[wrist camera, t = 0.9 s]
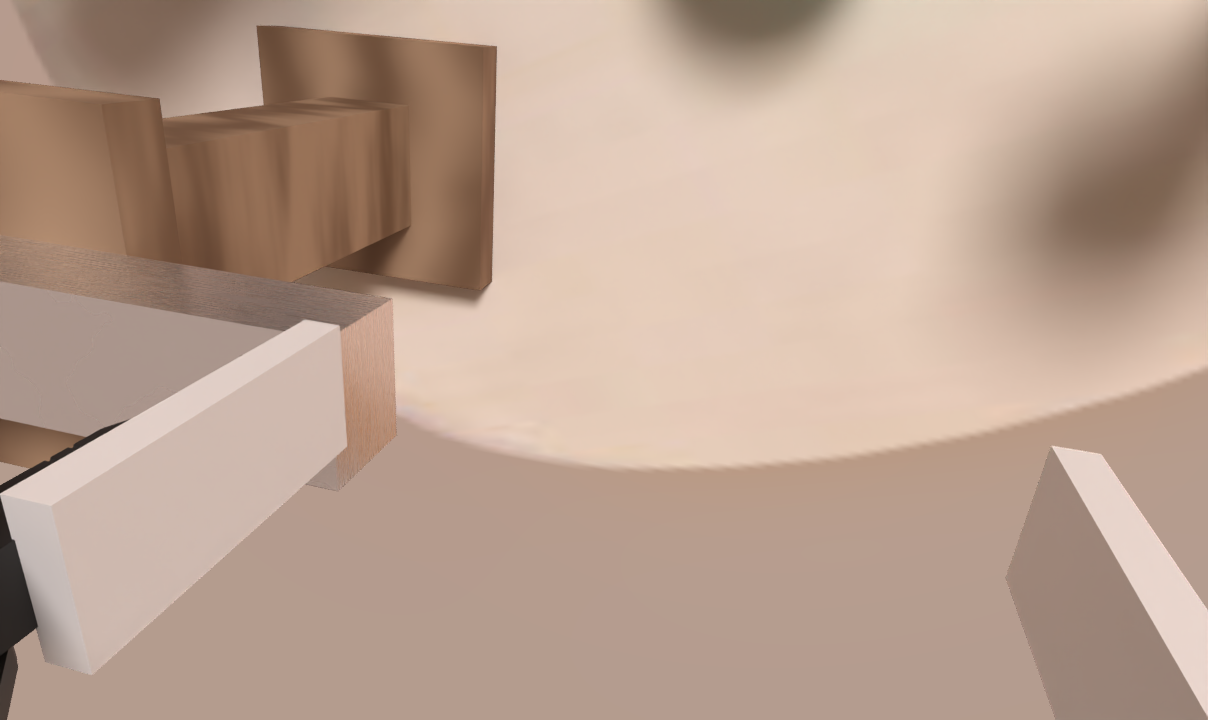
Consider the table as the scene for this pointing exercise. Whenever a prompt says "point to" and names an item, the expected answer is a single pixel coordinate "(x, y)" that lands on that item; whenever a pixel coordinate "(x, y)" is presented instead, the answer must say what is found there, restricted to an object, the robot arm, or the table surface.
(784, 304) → the table surface
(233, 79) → the table surface
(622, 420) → the table surface
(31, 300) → the grey block
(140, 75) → the table surface
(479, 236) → the stand
